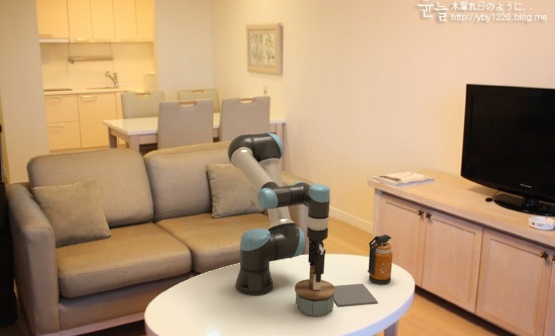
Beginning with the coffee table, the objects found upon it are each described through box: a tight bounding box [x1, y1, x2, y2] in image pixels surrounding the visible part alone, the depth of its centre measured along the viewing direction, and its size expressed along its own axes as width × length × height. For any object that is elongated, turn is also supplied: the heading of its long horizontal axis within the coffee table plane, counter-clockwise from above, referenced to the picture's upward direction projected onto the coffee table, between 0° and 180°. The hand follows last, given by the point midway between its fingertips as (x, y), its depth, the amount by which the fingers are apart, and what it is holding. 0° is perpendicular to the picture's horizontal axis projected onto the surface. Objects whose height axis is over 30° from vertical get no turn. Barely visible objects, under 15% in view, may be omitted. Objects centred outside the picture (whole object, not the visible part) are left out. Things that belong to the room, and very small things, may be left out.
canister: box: [367, 234, 394, 285], centre depth 233 cm, size 9×11×20 cm
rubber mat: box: [333, 283, 379, 308], centre depth 221 cm, size 16×16×1 cm
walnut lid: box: [294, 265, 335, 300], centre depth 209 cm, size 15×15×9 cm
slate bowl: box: [295, 292, 335, 317], centre depth 211 cm, size 13×13×6 cm
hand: (314, 286), depth 209 cm, fingers closed on walnut lid, 4 cm apart
